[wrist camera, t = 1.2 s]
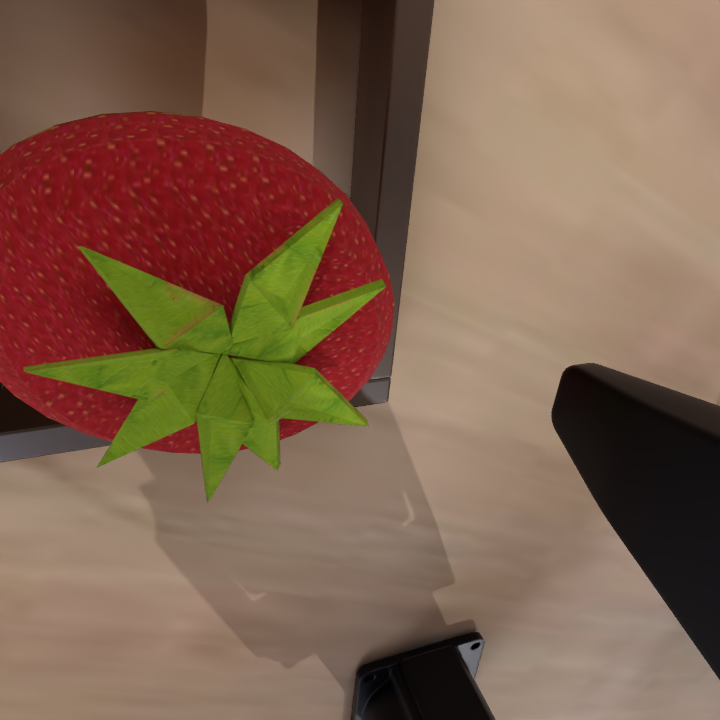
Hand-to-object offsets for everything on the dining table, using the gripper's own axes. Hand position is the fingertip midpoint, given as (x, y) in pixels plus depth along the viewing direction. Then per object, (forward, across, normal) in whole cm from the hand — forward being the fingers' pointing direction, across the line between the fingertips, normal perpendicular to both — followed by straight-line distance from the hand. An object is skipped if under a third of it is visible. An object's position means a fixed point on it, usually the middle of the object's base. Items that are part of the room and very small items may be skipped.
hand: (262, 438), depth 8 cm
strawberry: (+10, 0, 0) cm, 10 cm away
